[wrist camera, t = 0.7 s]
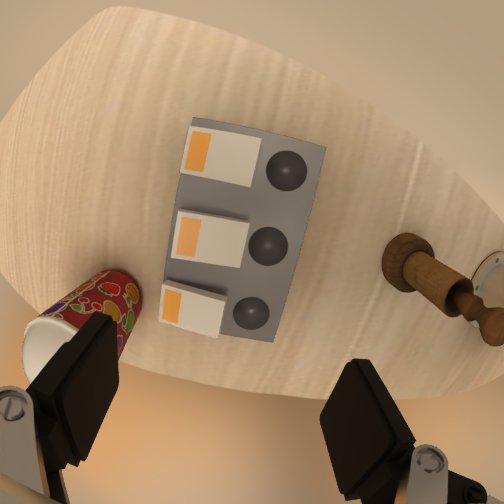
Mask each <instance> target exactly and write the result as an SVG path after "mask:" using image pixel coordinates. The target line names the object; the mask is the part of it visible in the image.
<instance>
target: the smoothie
mask: <svg viewBox="0 0 504 504" xmlns="http://www.w3.org/2000/svg"><path fill="white" fill-rule="evenodd" d="M141 304H142V301H141V297H140V293H139V290H138V287H137V286H136V284H135V283H134V281H133V280H132V279H131V278H129V277H128V276H127V275H125V274H123V273H120V272H115V271H103V272H100V273H99V274H97V275H95V276H94V277H92V278H91V279H89V280H88V281H87V282H85V283H84V284H82V285H81V286H79V287H78V288H76V289H75V290H74V291H72V292H71V293H69V294H68V295H67V296H65V297H64V298H62V299H61V300H60V301H58V302H57V303H55V304H54V305H53V306H51V307H50V308H49V309H47V310H46V311H45V312H43V313H42V314H41V315H39V316H38V317H37V318H35V319H33V320H31V321H30V322H29V323H28V325H27V327H26V328H25V331H24V341H23V345H22V365H23V369H24V373H25V375H26V377H27V380H28V381H29V383H30V384H31V383H32V381H33V380H34V379H35V378H36V376H37V375H38V374H39V372H40V371H41V370H42V369H43V367H44V366H45V365H46V364H47V362H48V361H49V360H50V359H51V358H52V356H53V355H54V354H55V353H56V352H57V350H58V349H59V348H60V347H61V346H62V344H64V343H65V342H69V341H70V340H71V339H72V337H73V336H74V335H75V334H76V333H77V332H78V330H79V329H80V328H81V327H82V326H83V325H84V323H85V322H86V321H87V320H88V319H89V318H90V316H91V315H92V314H93V313H94V312H95V311H97V312H101V313H104V314H108V315H111V316H112V318H113V321H116V322H117V346H118V360H119V358H120V356H121V353H122V351H123V349H124V347H125V344H126V342H127V340H128V338H129V336H130V333H131V331H132V329H133V327H134V325H135V323H136V321H137V318H138V316H139V314H140V311H141Z"/></svg>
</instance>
